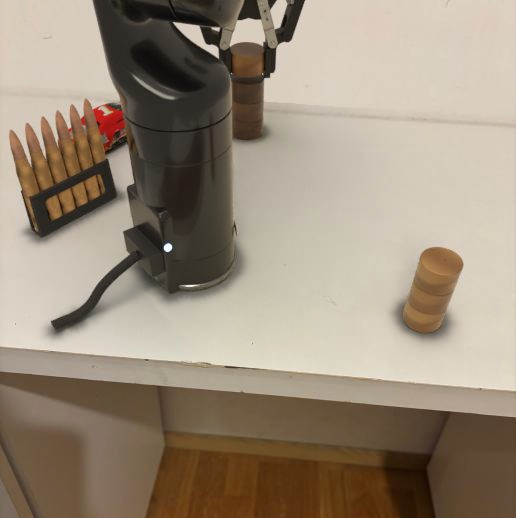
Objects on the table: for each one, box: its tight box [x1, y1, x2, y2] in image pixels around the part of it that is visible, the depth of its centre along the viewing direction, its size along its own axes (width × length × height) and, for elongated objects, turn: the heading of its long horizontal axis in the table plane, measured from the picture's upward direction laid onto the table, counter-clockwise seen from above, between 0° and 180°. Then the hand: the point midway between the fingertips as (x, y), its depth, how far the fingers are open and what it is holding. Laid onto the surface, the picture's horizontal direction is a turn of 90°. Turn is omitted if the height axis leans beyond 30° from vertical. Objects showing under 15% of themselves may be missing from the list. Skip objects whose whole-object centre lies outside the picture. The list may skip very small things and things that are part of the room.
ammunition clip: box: [8, 97, 118, 238], centre depth 62 cm, size 11×2×12 cm, turn 138°
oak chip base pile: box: [402, 246, 464, 334], centre depth 54 cm, size 4×4×8 cm
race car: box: [57, 101, 127, 152], centre depth 75 cm, size 13×5×4 cm, turn 140°
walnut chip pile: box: [231, 73, 265, 141], centre depth 76 cm, size 4×4×8 cm
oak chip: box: [230, 41, 265, 77], centre depth 72 cm, size 4×4×2 cm
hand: (247, 75), depth 73 cm, fingers closed on oak chip, 4 cm apart
